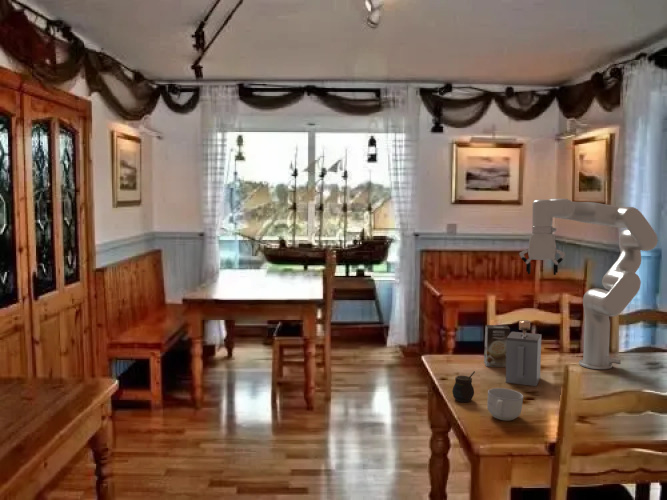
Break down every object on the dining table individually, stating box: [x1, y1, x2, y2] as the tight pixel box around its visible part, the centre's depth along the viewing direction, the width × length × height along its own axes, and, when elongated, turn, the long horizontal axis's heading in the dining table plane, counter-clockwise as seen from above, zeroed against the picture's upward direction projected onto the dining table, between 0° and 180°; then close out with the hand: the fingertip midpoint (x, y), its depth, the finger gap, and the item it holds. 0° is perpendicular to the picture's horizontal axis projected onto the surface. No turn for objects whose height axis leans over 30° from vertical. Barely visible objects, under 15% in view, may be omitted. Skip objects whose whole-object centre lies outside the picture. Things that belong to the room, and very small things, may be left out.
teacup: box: [486, 387, 524, 422], centre depth 195 cm, size 14×11×8 cm
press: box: [505, 331, 542, 387], centre depth 233 cm, size 11×14×17 cm
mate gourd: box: [451, 371, 476, 403], centre depth 212 cm, size 7×8×10 cm
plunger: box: [518, 320, 531, 337], centre depth 234 cm, size 9×9×17 cm
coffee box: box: [483, 324, 511, 368], centre depth 255 cm, size 9×6×16 cm
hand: (541, 274), depth 247 cm, fingers open, 9 cm apart
